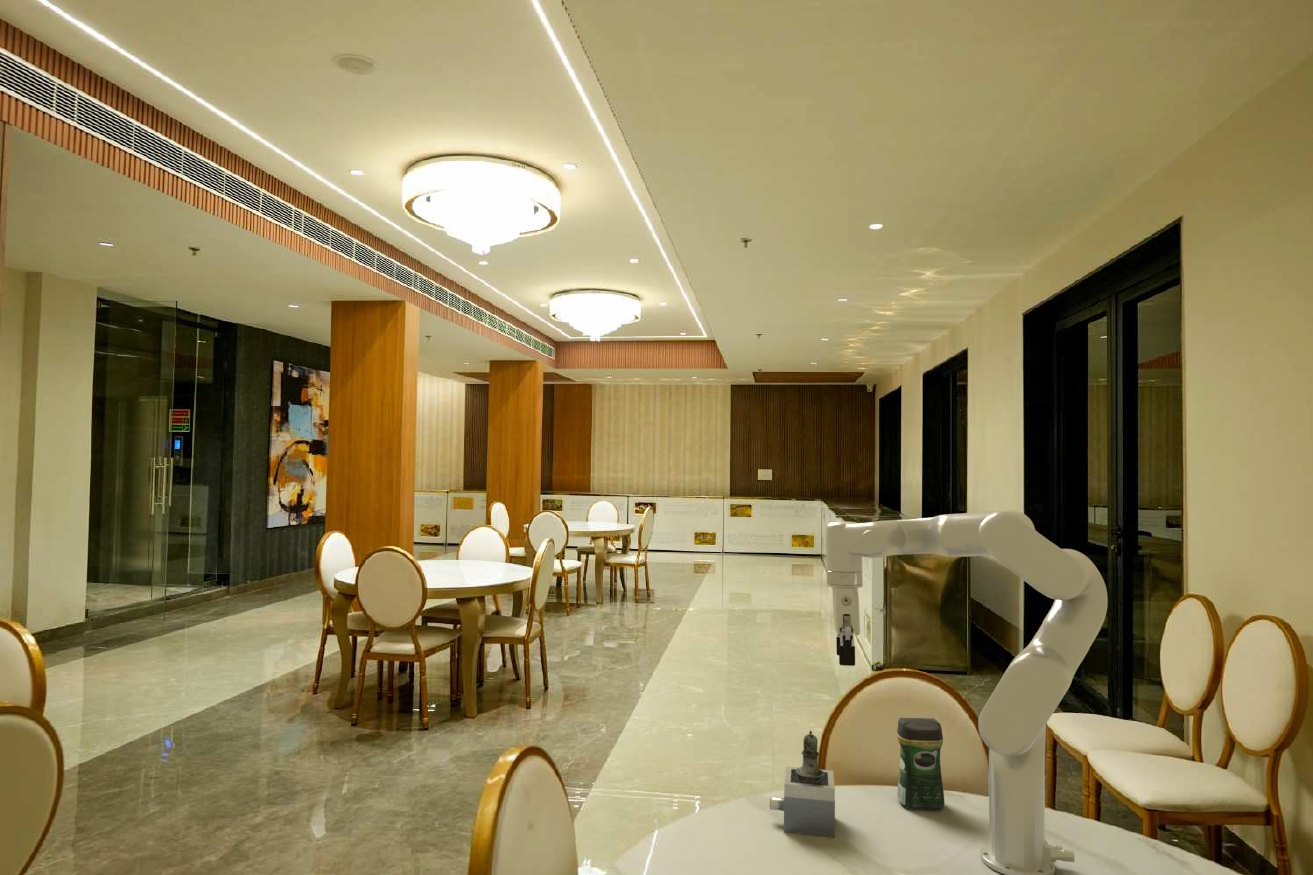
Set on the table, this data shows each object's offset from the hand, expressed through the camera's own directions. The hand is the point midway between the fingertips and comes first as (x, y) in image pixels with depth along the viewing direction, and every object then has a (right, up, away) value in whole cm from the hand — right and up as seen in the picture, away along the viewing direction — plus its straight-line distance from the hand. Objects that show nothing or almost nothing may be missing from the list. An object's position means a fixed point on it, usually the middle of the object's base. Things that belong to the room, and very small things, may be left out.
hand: (845, 660), depth 165 cm
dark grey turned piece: (-9, -25, -5) cm, 27 cm away
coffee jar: (+18, -34, +5) cm, 38 cm away
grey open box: (-10, -32, -4) cm, 34 cm away
